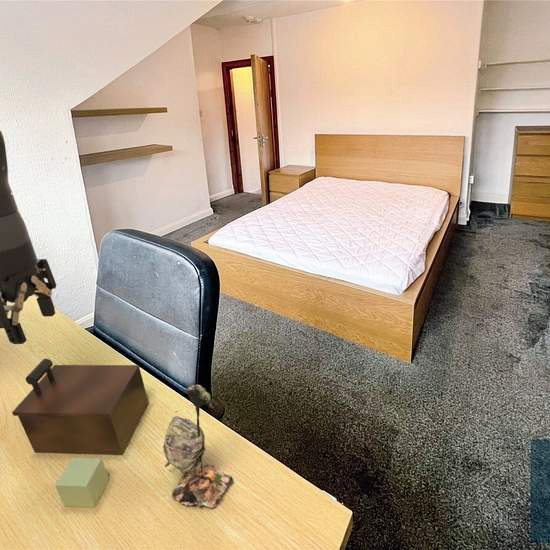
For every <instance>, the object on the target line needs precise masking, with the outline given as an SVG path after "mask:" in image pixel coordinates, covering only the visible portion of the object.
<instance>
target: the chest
mask: <svg viewBox="0 0 550 550" xmlns="http://www.w3.org/2000/svg"><path fill="white" fill-rule="evenodd" d="M148 405H150V404H149V399H148V395H147V391H146V387H145V384H144V380H143V376H142V372H141V369H139V370H138V372H137V374H136V375H135V377H134V379H133V380H132V382H131V384H130V385H129V387H128V389H127V390H126V392H125V394H124V395H123V397H122V399H121V401H120V402H119V404H118V406H117V407H116V409H115V411H114V412H113V414H112V416H111V417H64V416H17V417H18V419H19V422H20V423H21V426H22V428H23V431H24V433H25V435H26V437H27V439H28V442H29V444H30V446H31V448H32V449H33V452H34V453H37V454H40V453H41V454H70V455H71V454H72V455H75V454H76V455H111V456H112V455H113V456H124V453H125V452H126V449H127V448H128V446H129V444H130V441H131V440H132V438H133V435H134V434H135V431H136V429H137V428H138V425H139V424H140V421H141V420H142V417H143V415H144V414H145V412H146V409H147V408H148Z"/></svg>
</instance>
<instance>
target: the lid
mask: <svg viewBox="0 0 550 550" xmlns="http://www.w3.org/2000/svg"><path fill="white" fill-rule="evenodd" d="M139 369H140V365H139V364H53V361H52V360H51V359H49V358H43V359H42V360H41V361H39V363H38V364H37V365H36V366H35V367H34V368H33V369H32V370H31V371H30V372H29V374H27V376H25V382H26V383H27V384H28V385H30V386H31V387H32V389H31V390H30V392H29V393H28V394H27V395H26V396H25V397H24V398H23V399H22V400H21V402H20V403H18V405H17V406H16V407H15V408H14V409H13V411H12V412H11V414H12V415H13V416H15V417H18V416H64V417H111V416H112V414H113V412H114V411H115V409H116V407H117V406H118V404H119V402H120V401H121V399H122V397H123V395H124V394H125V392H126V390H127V389H128V387H129V385H130V384H131V382H132V380H133V379H134V377H135V375H136V374H137V372H138V370H139ZM140 370H141V369H140Z"/></svg>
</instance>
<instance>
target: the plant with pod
mask: <svg viewBox="0 0 550 550" xmlns="http://www.w3.org/2000/svg"><path fill="white" fill-rule="evenodd" d="M185 393H186V394H187V395H188V397H189V400H190V402H191V403H192V405H193V406H194V407H195V411H196V422H194V421H192V420H190V419H188V418H184V417H181V416H178V415H175V416H174V417H172V419H171V421H170V422H169V424H168V427H167V429H166V433H165V436H164V442H163V445H162V451H163V453H164V456H165V459H166V461H167V462H165V464H164V467H165V468H167V467H169V466H170V465H171V466H172V467H174V468H175V469H177V470H180V472H181V473H184V475H183V476H182V478H181V479H180V481H179V482H178V484H177V485H176V487H175V489H173V491H172V494H171V496H172V499H173V500H175V501H177V502H180V503H181V504H182V505H185V506H188V507H190V506H195V505H197V506H198V507H202V506H205V507H207V508H210V509H211V510H212V509H213V508H215V507H216V506H218V504H219V503H220V499H222V498H223V495H224V494H225V491H228V488H229V486H231V485H232V484H234V478H233V475H229V474H226V473H225V472H224V471H222V470H221V469H220V468H218V466H215V464H208V463H207V464H205V465H203V456H204V453H205V451H206V444H205V443H206V441H205V440H206V439H205V437H206V435H205V432H204V430H203V428H201V426H200V411H201V409H200V408H201V407H203V406H204V405H205V406H206V405H207V406H208V407H209V408H210V409H214V408H215V406H214V405H212V403H211V400H212V399H211V393H209V392H208V391H206V388H205V387H203V386H202V385H201V384H192V385H190V386H189V387H187V388H186V389H185ZM178 412H179V411H178V410H176V411H175V413H178Z"/></svg>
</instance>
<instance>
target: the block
mask: <svg viewBox="0 0 550 550" xmlns="http://www.w3.org/2000/svg"><path fill="white" fill-rule="evenodd" d="M108 482H109V475H108V473H107V470H106V467H105V465H104V462H103V458H97V457H95V458H94V457H72V458H71V459H70V461H69V463H67V466H66V467H65V469H64V470H63V472H62V473H61V475H60V476H59V478H58V480H57V482H56V483H55V484H54V486H55V488H56V491H57V492H58V496H59V498H60V500H61V502H62V505H63V506H64V508H65V507H66V508H67V507H68V508H88V509H89V508H91V509H94V508H96V506H97V504H98V502H99V500H100V498H101V496H102V494H103V492H104V490H105V488H106V487H107V484H108Z"/></svg>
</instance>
